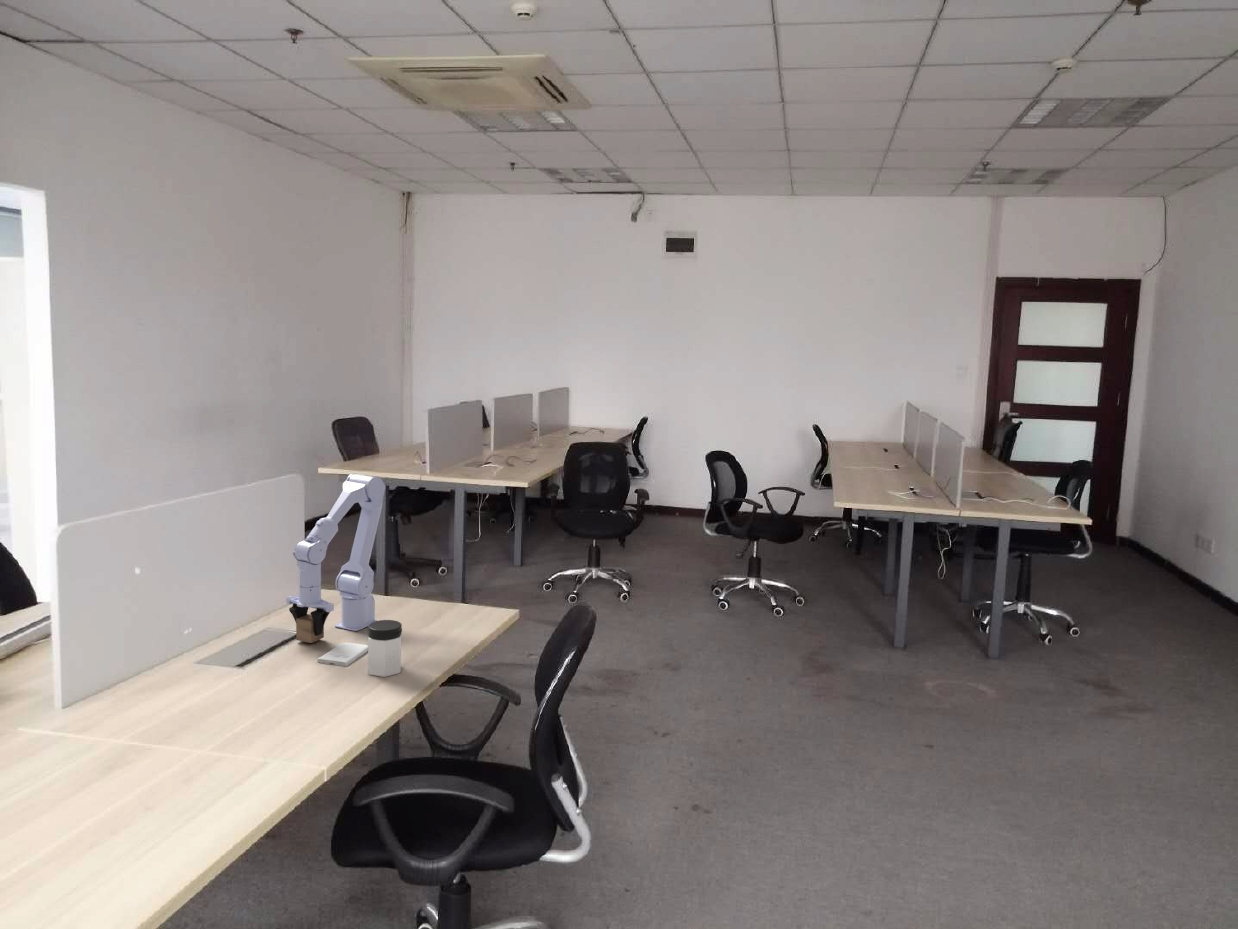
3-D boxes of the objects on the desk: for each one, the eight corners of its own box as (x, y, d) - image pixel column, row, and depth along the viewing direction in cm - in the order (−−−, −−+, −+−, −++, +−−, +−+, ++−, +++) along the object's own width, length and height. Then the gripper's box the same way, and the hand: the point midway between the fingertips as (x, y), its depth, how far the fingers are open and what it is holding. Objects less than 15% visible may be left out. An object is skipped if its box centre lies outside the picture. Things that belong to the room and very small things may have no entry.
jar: (376, 680, 205) (376, 633, 203) (360, 669, 211) (360, 624, 209) (408, 671, 211) (409, 626, 209) (392, 661, 217) (393, 617, 215)
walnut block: (309, 634, 231) (309, 613, 230) (323, 637, 230) (323, 616, 229) (296, 640, 227) (296, 618, 226) (311, 643, 225) (310, 621, 224)
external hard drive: (370, 651, 225) (345, 668, 213) (342, 647, 226) (316, 664, 214) (370, 645, 224) (346, 661, 212) (342, 641, 226) (316, 657, 214)
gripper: (277, 584, 225) (278, 632, 227) (320, 592, 220) (321, 642, 222) (296, 578, 231) (297, 625, 233) (339, 585, 226) (339, 633, 228)
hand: (310, 632), depth 228 cm, fingers closed on walnut block, 5 cm apart
